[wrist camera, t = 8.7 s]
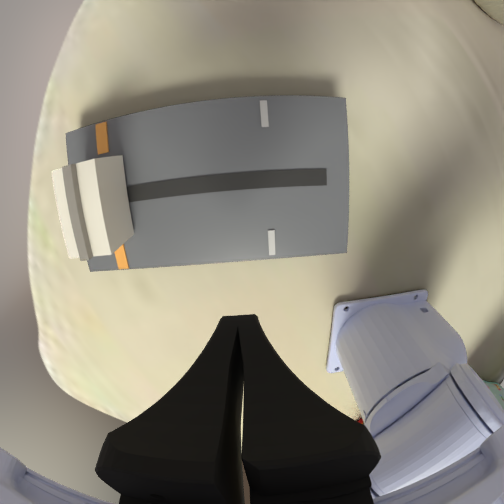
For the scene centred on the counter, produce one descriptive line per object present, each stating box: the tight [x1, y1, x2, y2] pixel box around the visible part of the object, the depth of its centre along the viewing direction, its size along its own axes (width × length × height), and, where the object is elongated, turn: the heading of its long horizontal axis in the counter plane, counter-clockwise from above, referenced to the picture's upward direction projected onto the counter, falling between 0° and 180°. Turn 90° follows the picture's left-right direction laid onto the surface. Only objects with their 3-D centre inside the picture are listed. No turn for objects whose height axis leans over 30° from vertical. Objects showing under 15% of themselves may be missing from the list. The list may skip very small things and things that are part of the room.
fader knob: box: [51, 155, 134, 261], centre depth 13 cm, size 3×5×4 cm, turn 4°
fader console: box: [66, 95, 349, 272], centre depth 16 cm, size 18×10×2 cm, turn 94°
